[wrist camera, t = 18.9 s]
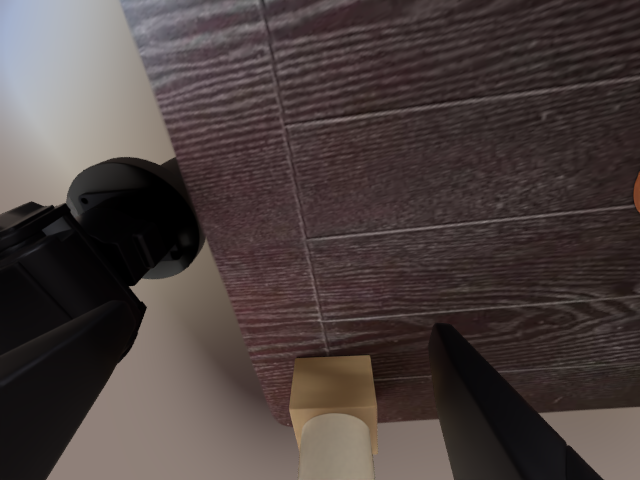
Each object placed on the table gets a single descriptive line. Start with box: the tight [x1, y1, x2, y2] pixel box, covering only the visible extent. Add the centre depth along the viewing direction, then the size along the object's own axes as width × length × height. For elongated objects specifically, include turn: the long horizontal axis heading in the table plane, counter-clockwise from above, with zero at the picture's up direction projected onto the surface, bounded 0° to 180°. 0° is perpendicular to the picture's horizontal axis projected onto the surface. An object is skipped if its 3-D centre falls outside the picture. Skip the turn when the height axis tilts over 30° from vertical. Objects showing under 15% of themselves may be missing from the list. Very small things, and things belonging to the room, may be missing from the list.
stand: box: [289, 355, 378, 454], centre depth 28 cm, size 7×7×5 cm
